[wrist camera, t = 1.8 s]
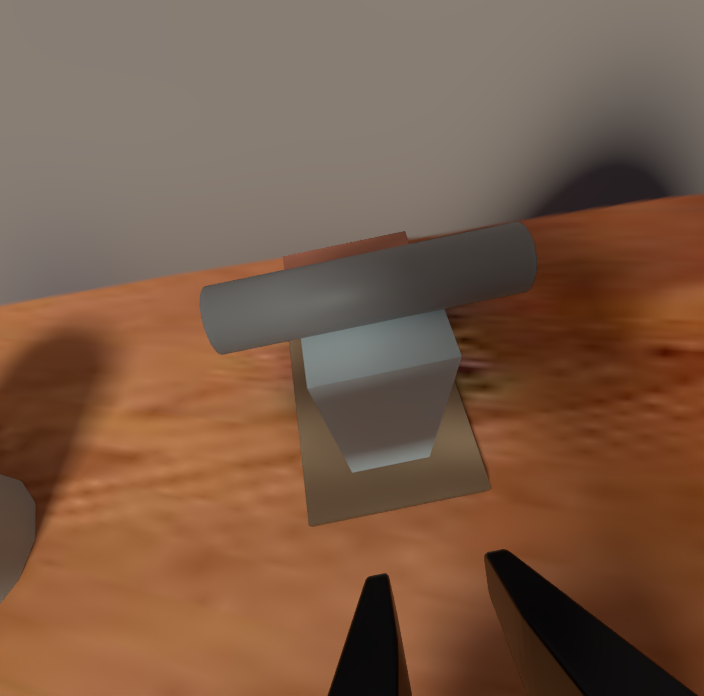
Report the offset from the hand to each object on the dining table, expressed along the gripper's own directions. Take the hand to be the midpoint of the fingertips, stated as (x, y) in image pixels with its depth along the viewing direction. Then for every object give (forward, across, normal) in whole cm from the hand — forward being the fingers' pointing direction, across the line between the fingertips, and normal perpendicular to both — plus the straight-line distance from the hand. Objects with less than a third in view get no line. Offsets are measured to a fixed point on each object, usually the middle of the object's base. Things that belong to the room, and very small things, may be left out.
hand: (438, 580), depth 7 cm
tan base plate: (+15, 0, +2) cm, 15 cm away
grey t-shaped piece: (+13, 0, +4) cm, 14 cm away
